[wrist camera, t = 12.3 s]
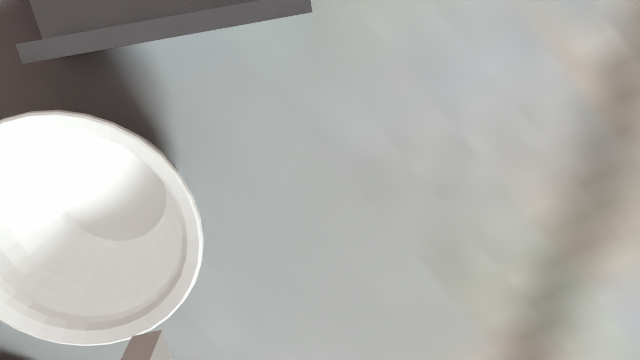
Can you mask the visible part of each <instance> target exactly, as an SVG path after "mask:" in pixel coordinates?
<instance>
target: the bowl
mask: <svg viewBox="0 0 640 360" xmlns="http://www.w3.org/2000/svg"><path fill="white" fill-rule="evenodd" d="M203 241H204V239H203V232H202V225H201V217H200V215H199V212H198V209H197V206H196V204H195V201H194V198H193V195H192V193H191V192H190V190H189V188H188V187H187V185H186V183H185V182H184V180H183V178H182V177H181V175H180V173H179V172H178V170H177V169H176V167H175V165H174V164H173V163H172V162H171V161H170V160H169V159H168V157H167V156H166V155H165V154H164V153H163V152H162V151H161V150H160V149H159V148H157V147H156V146H155V145H153V144H152V143H151V142H150V141H148V140H147V139H146V138H144V137H142V136H140V135H138V134H136V133H134V132H132V131H131V130H129V129H126V128H123V127H122V126H120V125H118V124H116V123H114V122H111V121H108V120H105V119H102V118H98V117H95V116H92V115H89V114H85V113H78V112H70V111H63V110H47V111H30V112H26V113H22V114H18V115H14V116H11V117H7V118H3V119H1V120H0V320H1V321H3V322H4V323H6V324H8V325H9V326H11V327H13V328H14V329H17V330H19V331H22V332H24V333H27V334H29V335H31V336H34V337H36V338H40V339H44V340H48V341H52V342H56V343H60V344H69V345H81V346H91V345H105V344H112V343H116V342H120V341H124V340H128V339H131V338H132V336H135V335H140V334H143V333H145V332H147V331H149V330H151V329H153V328H154V327H156V326H157V325H159V324H160V323H161V322H163V321H164V320H166V319H167V318H169V317H170V316H171V314H172V313H173V312H174V311H175V310H176V309H177V308H178V307H179V306H180V305H181V304H182V303H183V302H184V301H185V299H186V297H187V296H188V294H189V292H190V290H191V289H192V287H193V285H194V284H195V282H196V279H197V275H198V272H199V269H200V266H201V263H202V253H203Z"/></svg>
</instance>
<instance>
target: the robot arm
mask: <svg viewBox="0 0 640 360" xmlns="http://www.w3.org/2000/svg"><path fill="white" fill-rule="evenodd" d="M121 360H173V359H172V356H171V353H170V350H169V348H168V345H167V342H166V340H165V337H164V334H163V332H162V330H159V331H154V332H149V333H145V334H140V335H135V336H132V338H131V340H130V342H129V344H128V346H127V348H126V350H125V352H124V354H123V356H122V358H121Z"/></svg>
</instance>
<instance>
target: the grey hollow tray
mask: <svg viewBox="0 0 640 360" xmlns="http://www.w3.org/2000/svg"><path fill="white" fill-rule="evenodd" d="M29 2H30V5H31V8H32V11H33V14H34V17H35V20H36V22H37V25H38V28H39V31H40V34H41V37H42V39H41V40H36V41H30V42H24V43H19V44H15V45H16V48H17V51H18V54H19V56H20V59H21V62H22V64H26V63H32V62H37V61H43V60H49V59H54V58H60V57H65V56H71V55H76V54H82V53H88V52H93V51H99V50H104V49H110V48H115V47H121V46H126V45H132V44H138V43H143V42H149V41H154V40H160V39H165V38H171V37H177V36H182V35H188V34H193V33H199V32H204V31H210V30H216V29H221V28H227V27H232V26H238V25H243V24H249V23H254V22H260V21H266V20H271V19H277V18H282V17H288V16H293V15H299V14H305V13H310V12H312V7H311V1H310V0H29Z"/></svg>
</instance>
